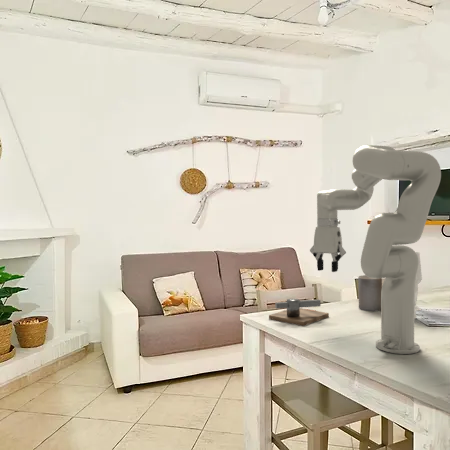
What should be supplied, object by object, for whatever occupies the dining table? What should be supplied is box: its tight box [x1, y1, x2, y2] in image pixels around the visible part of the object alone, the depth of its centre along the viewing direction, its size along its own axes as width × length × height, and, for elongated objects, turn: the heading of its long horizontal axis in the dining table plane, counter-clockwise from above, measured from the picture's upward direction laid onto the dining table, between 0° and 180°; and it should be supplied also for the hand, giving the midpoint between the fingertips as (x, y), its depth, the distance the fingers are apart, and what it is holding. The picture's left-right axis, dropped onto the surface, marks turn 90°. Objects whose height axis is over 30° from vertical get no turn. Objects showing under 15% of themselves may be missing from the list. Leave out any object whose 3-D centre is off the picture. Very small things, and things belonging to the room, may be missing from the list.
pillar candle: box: [357, 274, 383, 312], centre depth 190 cm, size 10×10×15 cm
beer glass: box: [414, 279, 419, 320], centre depth 174 cm, size 7×7×15 cm
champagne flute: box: [415, 251, 423, 312], centre depth 188 cm, size 7×7×24 cm
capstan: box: [274, 298, 322, 317], centre depth 173 cm, size 18×5×6 cm, turn 102°
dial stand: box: [268, 307, 330, 327], centre depth 176 cm, size 18×16×2 cm
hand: (327, 270), depth 170 cm, fingers open, 5 cm apart
